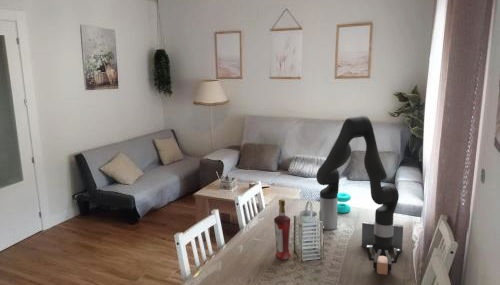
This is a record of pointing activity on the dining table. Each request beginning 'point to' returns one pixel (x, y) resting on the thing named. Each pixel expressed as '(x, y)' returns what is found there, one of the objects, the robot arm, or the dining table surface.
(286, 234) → the liquor
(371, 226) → the plate
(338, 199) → the donuts
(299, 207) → the dining table surface
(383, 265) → the plug
